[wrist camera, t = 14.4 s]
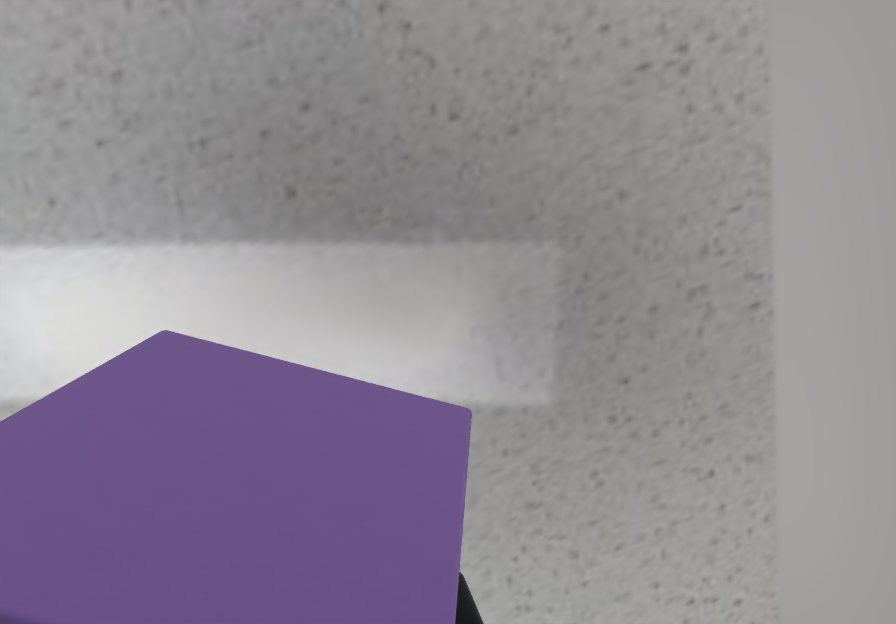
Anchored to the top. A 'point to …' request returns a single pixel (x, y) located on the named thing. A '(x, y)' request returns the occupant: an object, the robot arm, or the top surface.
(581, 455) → the top surface
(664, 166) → the top surface
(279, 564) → the block
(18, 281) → the top surface
